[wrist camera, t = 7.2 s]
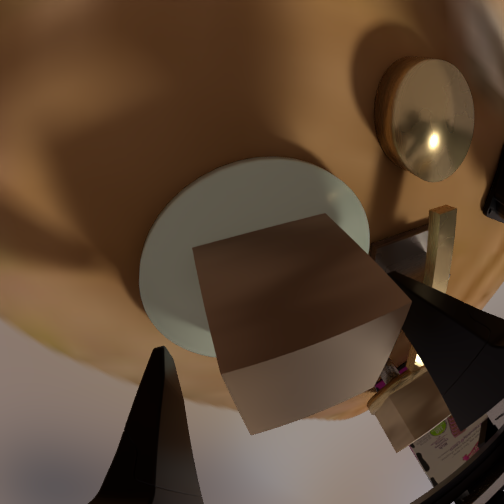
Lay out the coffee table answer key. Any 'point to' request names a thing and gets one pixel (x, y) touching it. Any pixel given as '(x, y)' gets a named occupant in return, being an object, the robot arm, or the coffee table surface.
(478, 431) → the candy bar box
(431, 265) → the balance
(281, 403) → the walnut block
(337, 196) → the sage dish
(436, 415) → the oak block
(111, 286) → the coffee table surface
